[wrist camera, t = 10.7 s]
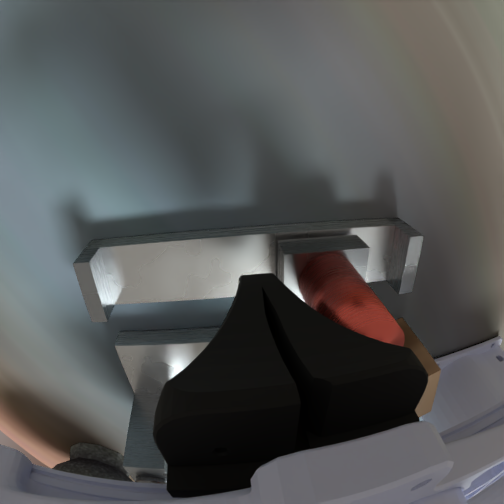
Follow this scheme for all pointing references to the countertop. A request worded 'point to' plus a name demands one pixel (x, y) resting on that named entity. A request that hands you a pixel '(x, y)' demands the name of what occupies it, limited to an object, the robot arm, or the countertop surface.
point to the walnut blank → (427, 363)
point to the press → (153, 389)
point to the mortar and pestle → (95, 462)
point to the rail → (226, 261)
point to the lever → (337, 284)
